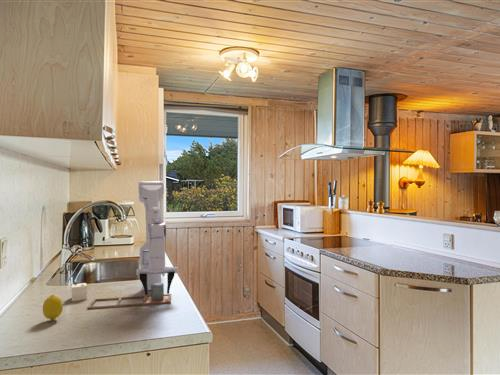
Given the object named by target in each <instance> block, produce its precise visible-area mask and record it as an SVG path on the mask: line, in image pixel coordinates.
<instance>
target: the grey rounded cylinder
mask: <svg viewBox="0 0 500 375" xmlns="http://www.w3.org/2000/svg"><path fill="white" fill-rule="evenodd" d="M164 286H165V285H164V282H161V283H154V284H151V290H150V295H151V300H152V301H162V300H163V299H164V293H165V292H164V290H165V289H164V288H165V287H164Z"/></svg>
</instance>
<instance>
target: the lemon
mask: <svg viewBox="0 0 500 375" xmlns="http://www.w3.org/2000/svg"><path fill="white" fill-rule="evenodd" d="M63 307H64V306H63V301H62V299H61V297H59V296H58V295H54V294H51V295H50V296H48V297H47V298H46V299H45V300H44V302H43V305H42V313H43V316H44V318H46V319H47V320H48V319H49V320H51V321H55V320H56V319H57V318H58V317H60V315H61V314H62V312H63V309H64V308H63Z"/></svg>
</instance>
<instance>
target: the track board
mask: <svg viewBox="0 0 500 375" xmlns="http://www.w3.org/2000/svg"><path fill="white" fill-rule="evenodd" d="M133 299H135V300H136V299H143V300H142V302H139V303H126V304H125V303H124V304H121V302H122V300H133ZM101 301H102V302H103V301H117V302H116V303H115V304H110V305H109V304H108V305H96V306H94V304H95V303H96V302H101ZM171 303H172V293H169V294H167V293H165V294H164V299H163V300H162V301H152V300H151V294H150V295H148V294H147V295H134V296H133V295H132V296H119V297H118V296H116V297H101V298H94V299H92V301H91V302H90V303H89V305H88V306H87V310H95V309H99V310H100V309H110V308H111V309H112V308H113V309H114V308H125V307H140V306H151V305H152V306H153V305H154V306H155V305H156V306H157V305H169V304H171Z"/></svg>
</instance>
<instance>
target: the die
mask: <svg viewBox="0 0 500 375" xmlns="http://www.w3.org/2000/svg"><path fill="white" fill-rule="evenodd" d="M87 286H88V285H87V282H81V283H80V282H79V283H73V284H71V302H76V301H77V302H78V301H85V300H87V299H88V295H87V294H88V293H87V292H88V288H87Z"/></svg>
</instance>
